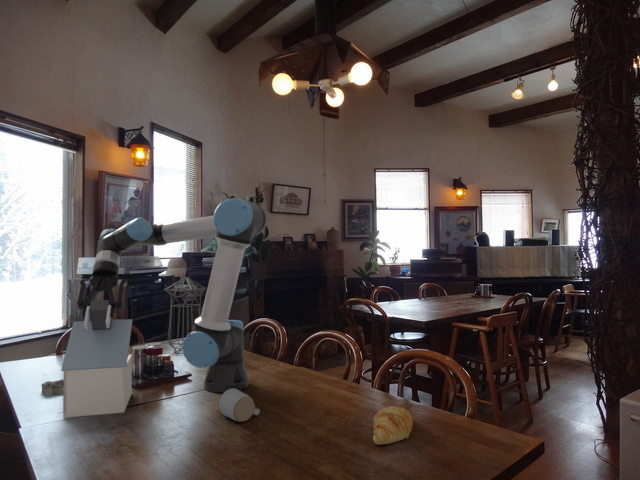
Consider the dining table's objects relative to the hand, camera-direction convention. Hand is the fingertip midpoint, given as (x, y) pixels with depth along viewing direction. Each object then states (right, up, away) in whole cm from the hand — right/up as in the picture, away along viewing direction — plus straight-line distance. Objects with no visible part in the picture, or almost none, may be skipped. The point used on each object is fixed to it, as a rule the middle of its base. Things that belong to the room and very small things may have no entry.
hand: (96, 325), depth 135 cm
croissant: (+84, -25, -17) cm, 89 cm away
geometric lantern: (+2, -28, +83) cm, 87 cm away
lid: (-1, -6, +4) cm, 8 cm away
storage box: (-2, -25, +6) cm, 26 cm away
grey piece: (-22, -26, +20) cm, 40 cm away
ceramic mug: (+43, -25, -5) cm, 50 cm away
